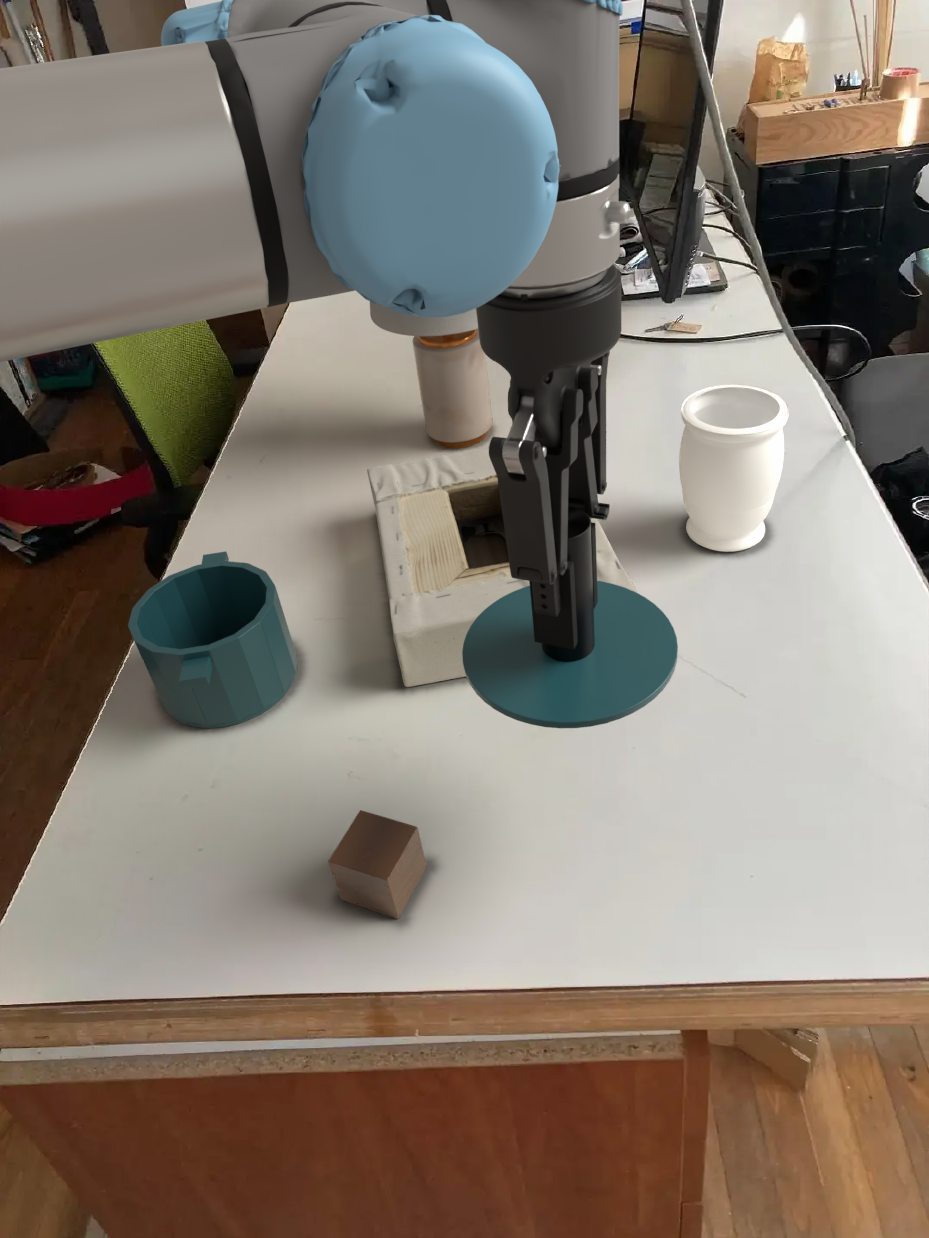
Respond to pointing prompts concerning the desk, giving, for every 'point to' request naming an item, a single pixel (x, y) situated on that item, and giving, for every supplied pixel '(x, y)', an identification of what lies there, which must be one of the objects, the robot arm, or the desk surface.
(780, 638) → the desk surface
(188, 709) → the pot
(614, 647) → the lid
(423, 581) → the box
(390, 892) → the block
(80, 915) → the desk surface
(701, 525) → the jar
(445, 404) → the lamp
